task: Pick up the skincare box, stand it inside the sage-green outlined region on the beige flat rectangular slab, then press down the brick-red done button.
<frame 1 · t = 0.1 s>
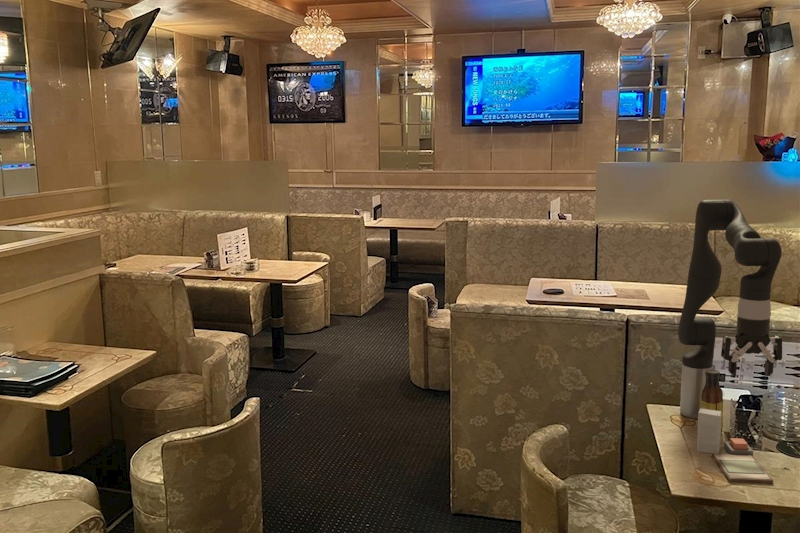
hand: (750, 374, 175), 29 cm above the table, tool pointing down, fingers open, 8 cm apart
beige flat rectangular slab: (740, 469, 184), on the table
button housing: (738, 452, 195), on the table
done button: (738, 444, 194), point 3 cm above the table, slide at 0.0 cm
sauce bottle: (711, 431, 210), on the table
skincare box: (708, 450, 197), on the table
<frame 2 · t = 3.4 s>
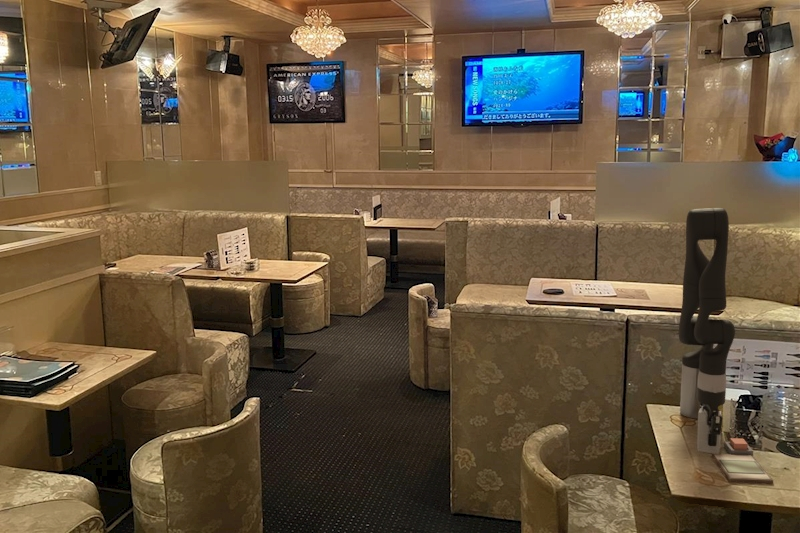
hand: (708, 440, 196), 3 cm above the table, tool pointing down, fingers closed on skincare box, 5 cm apart
skincare box: (708, 450, 197), on the table, touching gripper
everything else where it was.
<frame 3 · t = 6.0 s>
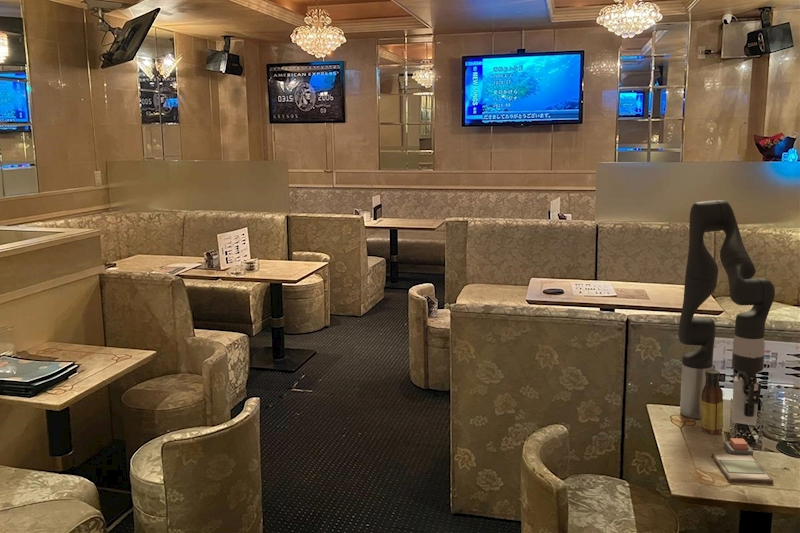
hand: (744, 411, 181), 17 cm above the table, tool pointing down, fingers closed on skincare box, 5 cm apart
skincare box: (744, 422, 182), point 14 cm above the table, touching gripper
everything else where it was.
when the fingers open (5 cm above the table, at t = 8.6 s): skincare box stays where it is, resting on beige flat rectangular slab.
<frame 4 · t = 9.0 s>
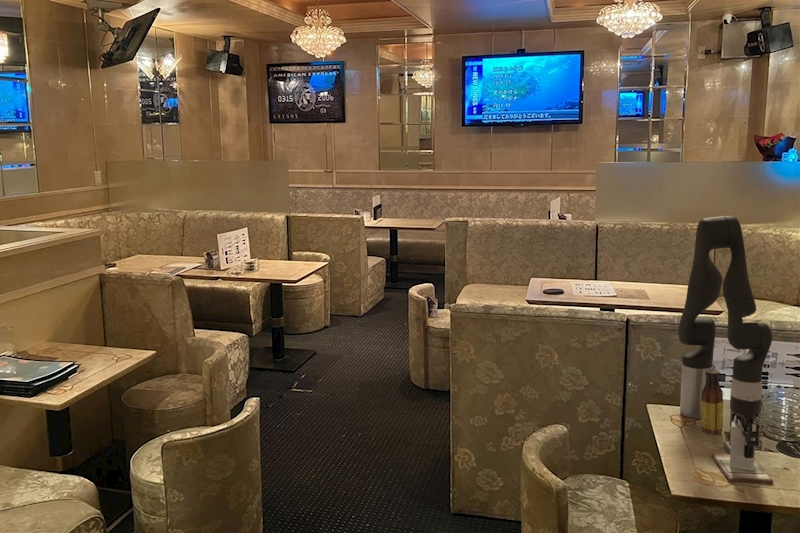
hand: (742, 450, 183), 6 cm above the table, tool pointing down, fingers open, 8 cm apart
skincare box: (741, 466, 184), point 1 cm above the table, touching beige flat rectangular slab
everything else where it was.
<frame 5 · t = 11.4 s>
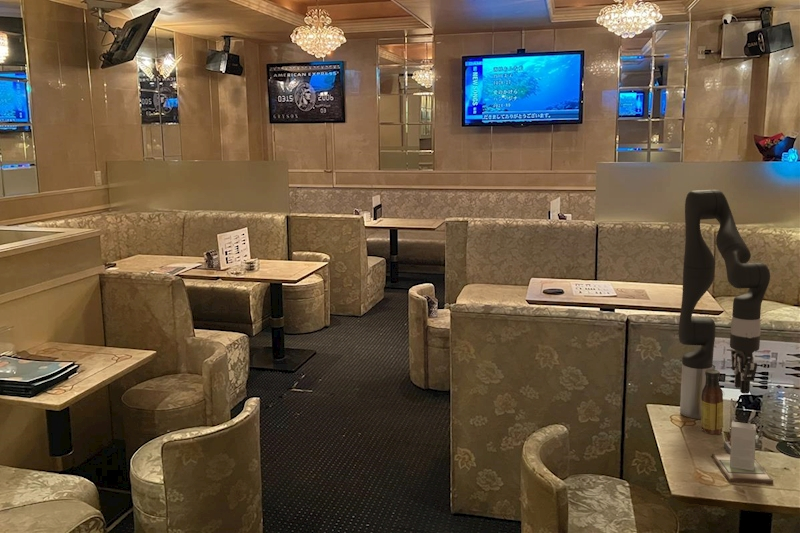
hand: (741, 389, 191), 19 cm above the table, tool pointing down, fingers open, 4 cm apart
nothing on the table moved.
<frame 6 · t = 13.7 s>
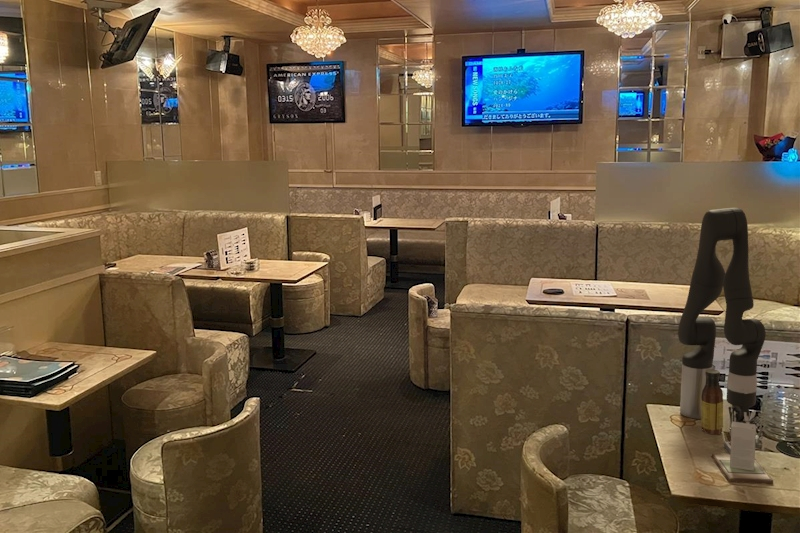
hand: (738, 444, 194), 3 cm above the table, tool pointing down, fingers closed
done button: (738, 447, 194), point 2 cm above the table, slide at 0.9 cm, touching gripper
everything else where it was.
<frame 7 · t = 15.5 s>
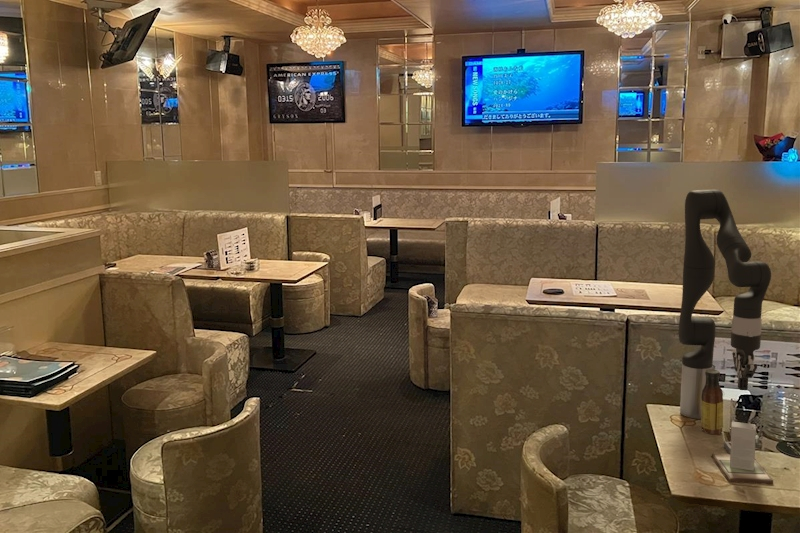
hand: (742, 389, 192), 19 cm above the table, tool pointing down, fingers closed
done button: (738, 448, 194), point 1 cm above the table, slide at 1.2 cm
everything else where it was.
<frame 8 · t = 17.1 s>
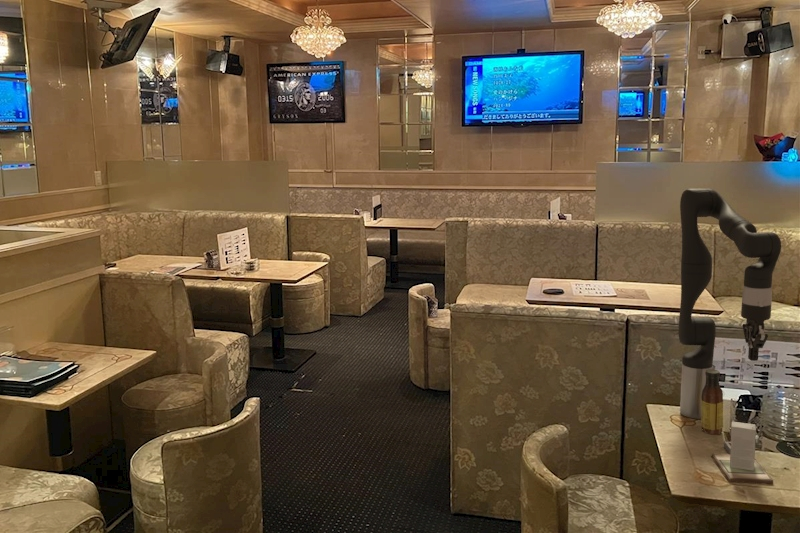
hand: (753, 359, 193), 27 cm above the table, tool pointing down, fingers closed
nothing on the table moved.
at the end: skincare box 0.2 cm from the target spot, point 1.0 cm above the table; skincare box tilted 0°; done button slide at 1.2 cm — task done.
